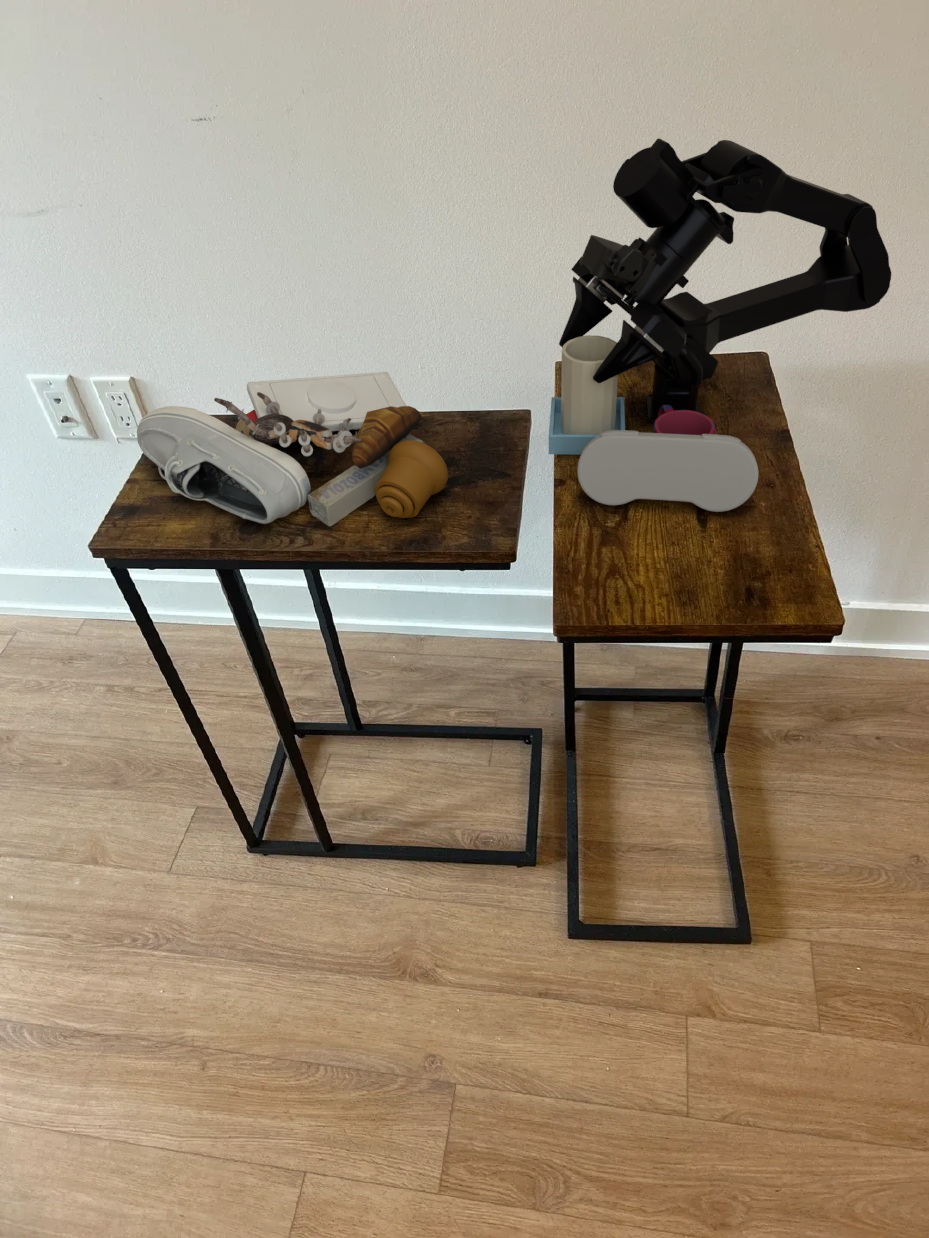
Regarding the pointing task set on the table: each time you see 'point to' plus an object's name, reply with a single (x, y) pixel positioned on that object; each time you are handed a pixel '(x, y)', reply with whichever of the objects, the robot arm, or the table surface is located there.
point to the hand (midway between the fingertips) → (578, 363)
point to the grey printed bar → (348, 490)
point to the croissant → (383, 432)
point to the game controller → (668, 469)
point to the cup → (682, 422)
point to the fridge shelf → (575, 441)
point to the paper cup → (587, 387)
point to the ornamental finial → (410, 478)
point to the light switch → (328, 397)
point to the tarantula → (293, 428)
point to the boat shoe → (222, 464)
